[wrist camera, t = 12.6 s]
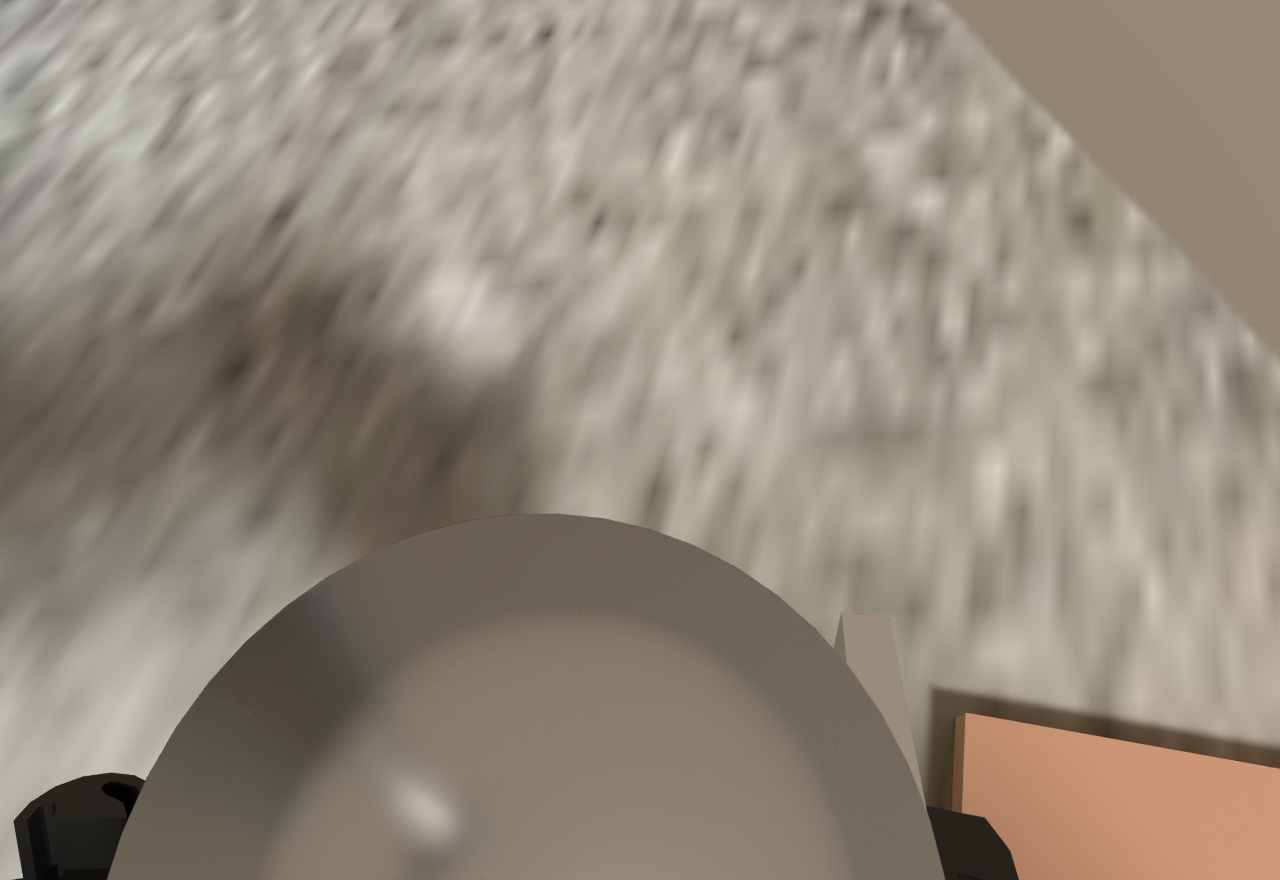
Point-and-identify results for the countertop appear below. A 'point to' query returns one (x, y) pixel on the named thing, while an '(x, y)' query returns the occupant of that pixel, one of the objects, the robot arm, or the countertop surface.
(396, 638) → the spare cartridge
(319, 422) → the countertop surface
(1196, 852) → the terracotta tile
